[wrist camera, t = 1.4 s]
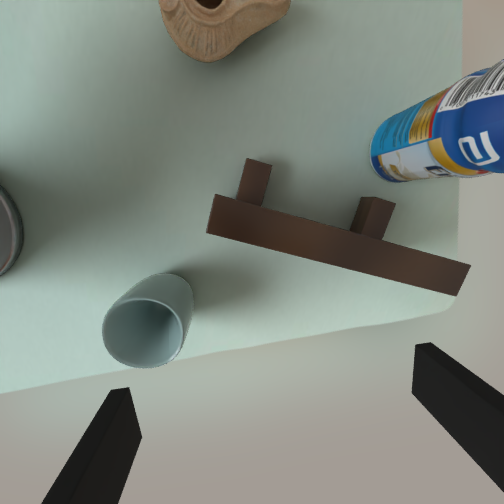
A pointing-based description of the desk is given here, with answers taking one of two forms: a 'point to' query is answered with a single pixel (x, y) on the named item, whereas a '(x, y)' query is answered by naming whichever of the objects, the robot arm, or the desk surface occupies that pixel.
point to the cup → (149, 321)
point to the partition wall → (330, 236)
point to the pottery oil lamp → (217, 24)
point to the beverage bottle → (446, 133)
